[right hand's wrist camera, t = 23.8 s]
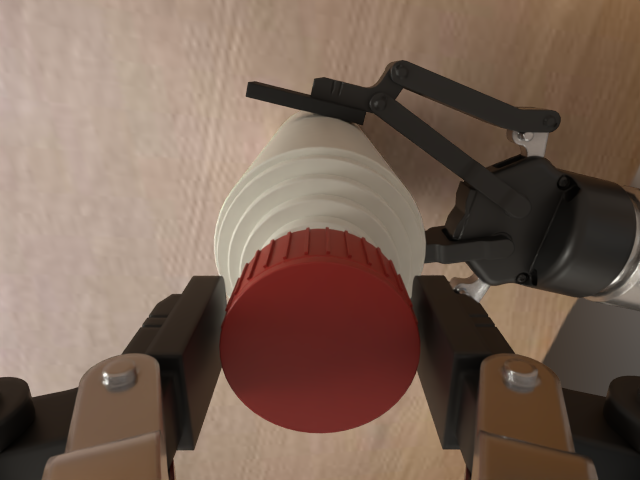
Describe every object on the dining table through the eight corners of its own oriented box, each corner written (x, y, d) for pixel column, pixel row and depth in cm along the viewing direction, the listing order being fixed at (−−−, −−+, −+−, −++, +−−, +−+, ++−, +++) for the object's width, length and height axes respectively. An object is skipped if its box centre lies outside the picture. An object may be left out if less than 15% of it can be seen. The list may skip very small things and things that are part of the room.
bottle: (311, 84, 31) (290, 109, 9) (388, 149, 33) (543, 316, 10) (251, 165, 33) (104, 358, 11) (327, 222, 35) (340, 499, 12)
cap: (438, 274, 11) (464, 318, 9) (350, 400, 13) (356, 461, 11) (282, 193, 11) (273, 220, 9) (206, 336, 12) (184, 388, 10)
